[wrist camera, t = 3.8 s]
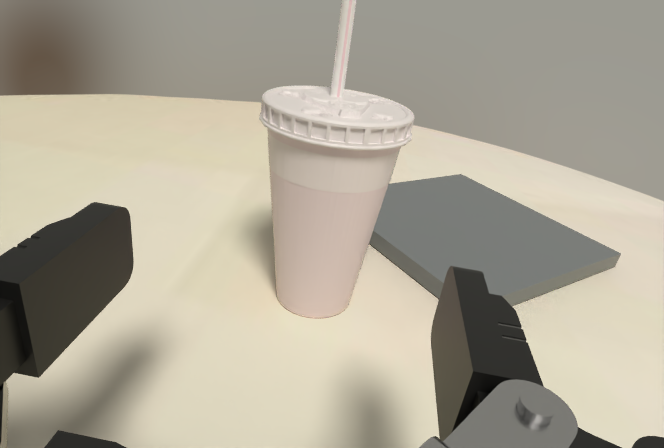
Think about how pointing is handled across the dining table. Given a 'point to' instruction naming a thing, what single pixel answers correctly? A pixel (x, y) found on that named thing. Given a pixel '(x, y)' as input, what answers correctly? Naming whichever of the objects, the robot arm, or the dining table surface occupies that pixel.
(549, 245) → the coaster
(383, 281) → the dining table surface
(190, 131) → the dining table surface
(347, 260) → the smoothie
